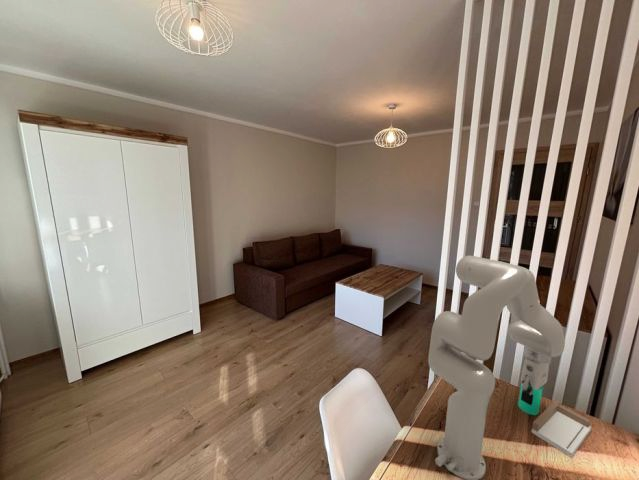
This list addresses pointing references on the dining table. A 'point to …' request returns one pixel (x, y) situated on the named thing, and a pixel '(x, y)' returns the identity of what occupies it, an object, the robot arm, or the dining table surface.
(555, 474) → the dining table surface
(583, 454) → the dining table surface
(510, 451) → the dining table surface
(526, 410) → the candle
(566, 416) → the jig board
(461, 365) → the robot arm
